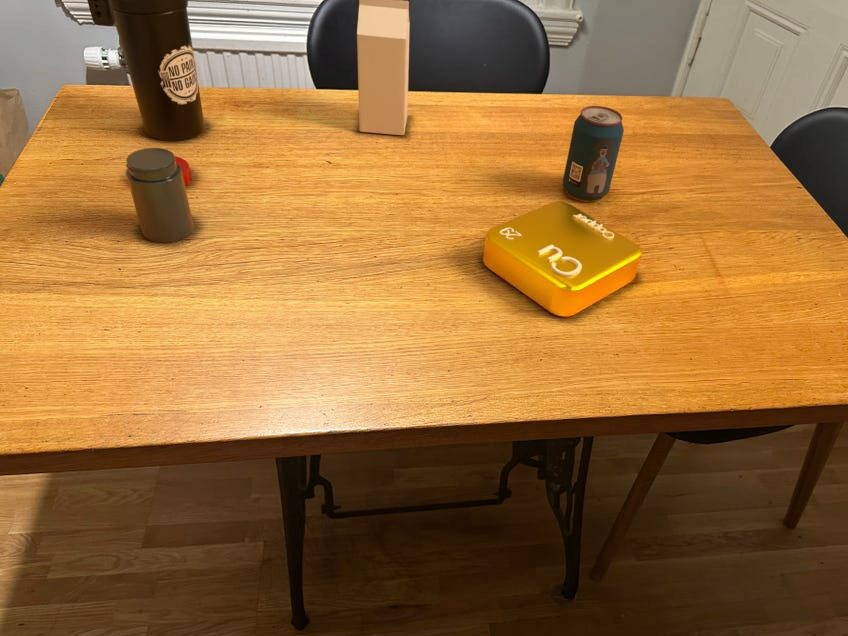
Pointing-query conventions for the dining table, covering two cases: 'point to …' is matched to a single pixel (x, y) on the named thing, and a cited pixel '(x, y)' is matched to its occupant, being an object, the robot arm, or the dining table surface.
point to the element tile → (561, 257)
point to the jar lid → (184, 170)
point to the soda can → (593, 153)
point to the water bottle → (161, 66)
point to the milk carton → (383, 65)
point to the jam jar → (159, 195)
